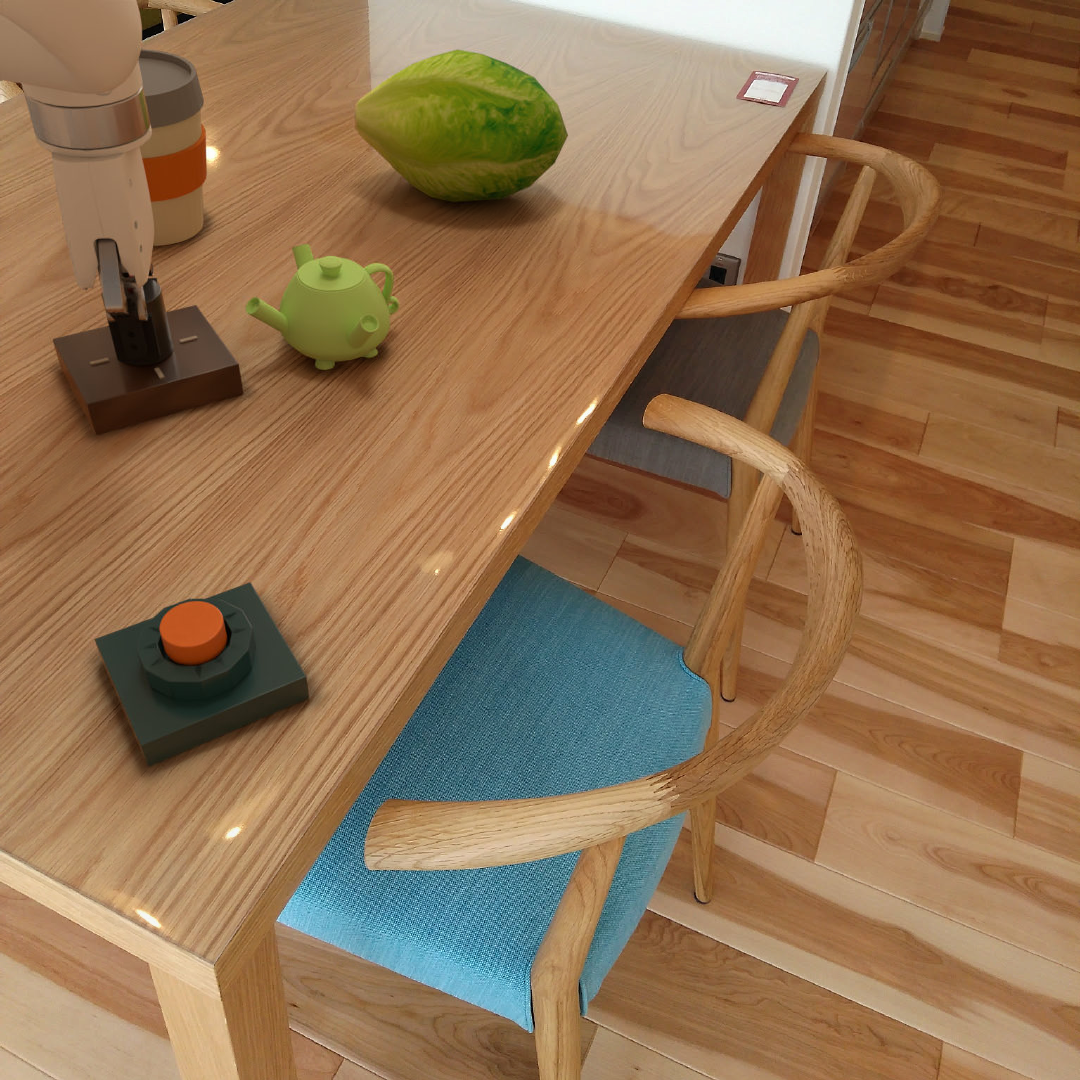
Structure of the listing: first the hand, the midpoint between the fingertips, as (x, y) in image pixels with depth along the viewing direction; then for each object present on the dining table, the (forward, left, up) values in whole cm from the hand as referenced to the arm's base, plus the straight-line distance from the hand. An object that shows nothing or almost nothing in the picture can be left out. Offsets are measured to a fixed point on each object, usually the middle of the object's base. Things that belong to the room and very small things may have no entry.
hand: (142, 339), depth 82 cm
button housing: (-7, -32, -4) cm, 33 cm away
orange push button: (-7, -32, -1) cm, 33 cm away
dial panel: (0, 0, -4) cm, 4 cm away
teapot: (+15, -2, -4) cm, 16 cm away
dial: (0, 0, -1) cm, 1 cm away
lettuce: (+41, +20, -4) cm, 46 cm away
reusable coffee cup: (+9, +26, -4) cm, 28 cm away
